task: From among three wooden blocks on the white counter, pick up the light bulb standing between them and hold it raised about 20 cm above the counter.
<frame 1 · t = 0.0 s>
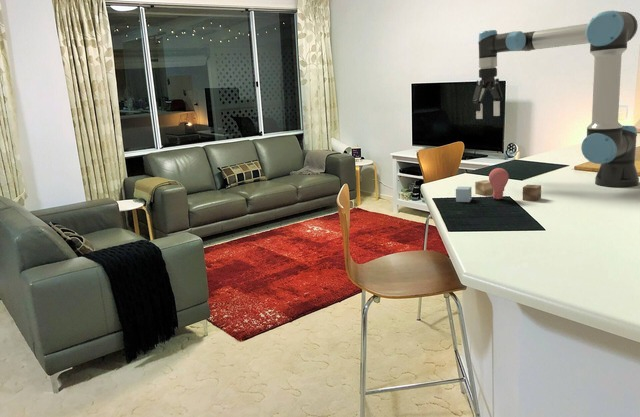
hand: (488, 117, 227), 28 cm above the breakfast bar, fingers open, 13 cm apart
oak block: (484, 193, 205), on the breakfast bar
light bulb: (498, 199, 194), on the breakfast bar
slate-blue painted block: (463, 200, 197), on the breakfast bar
walnut block: (531, 199, 190), on the breakfast bar
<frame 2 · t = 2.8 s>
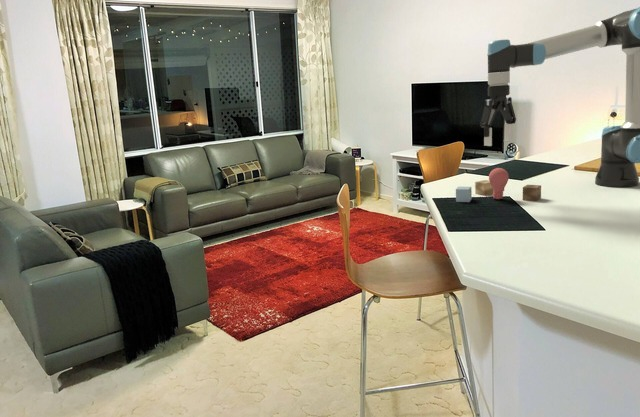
hand: (498, 143, 189), 21 cm above the breakfast bar, fingers open, 13 cm apart
nothing on the breakfast bar moved.
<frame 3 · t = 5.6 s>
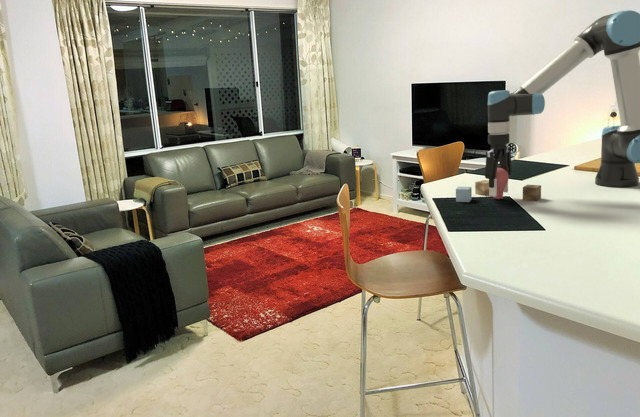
hand: (498, 193, 194), 2 cm above the breakfast bar, fingers closed on light bulb, 7 cm apart
light bulb: (498, 199, 194), on the breakfast bar, touching gripper
everything else where it was.
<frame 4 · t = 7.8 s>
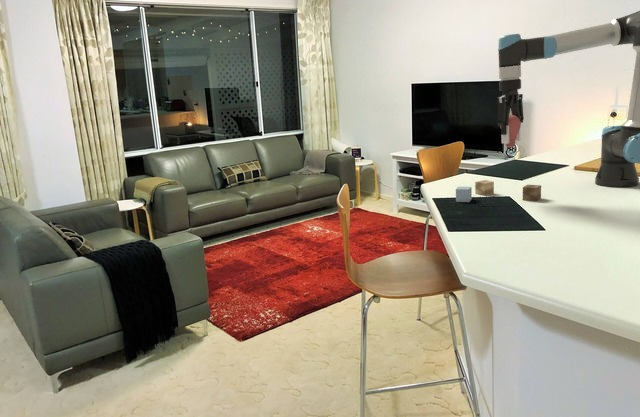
hand: (510, 141, 191), 21 cm above the breakfast bar, fingers closed on light bulb, 7 cm apart
light bulb: (510, 147, 191), point 19 cm above the breakfast bar, touching gripper
everything else where it was.
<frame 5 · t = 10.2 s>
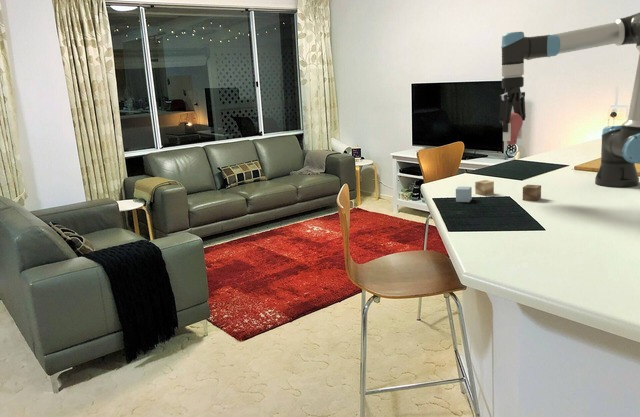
hand: (512, 139, 191), 22 cm above the breakfast bar, fingers closed on light bulb, 7 cm apart
light bulb: (512, 145, 192), point 20 cm above the breakfast bar, touching gripper
everything else where it was.
at the end: the gripper is holding light bulb; light bulb point 19.7 cm above the breakfast bar; walnut block moved 0.1 cm from its start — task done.
